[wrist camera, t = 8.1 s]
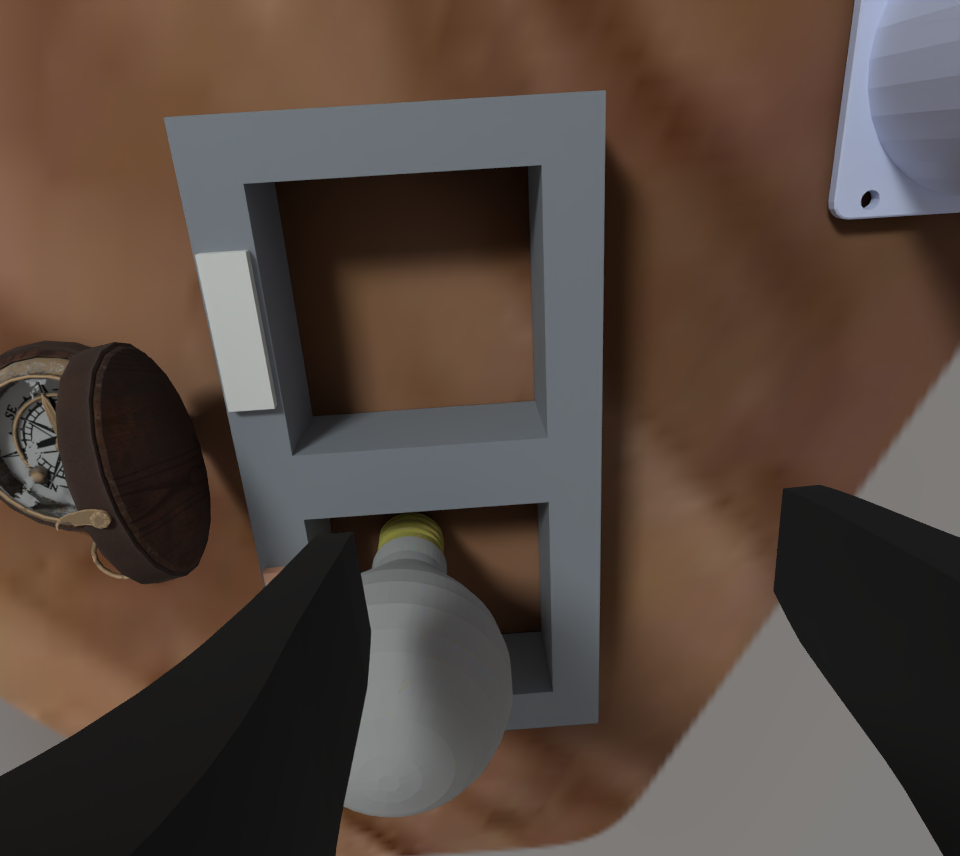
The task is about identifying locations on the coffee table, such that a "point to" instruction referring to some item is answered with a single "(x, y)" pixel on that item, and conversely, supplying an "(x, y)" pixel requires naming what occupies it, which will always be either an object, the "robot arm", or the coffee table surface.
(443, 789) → the light bulb
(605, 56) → the coffee table surface
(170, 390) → the compass
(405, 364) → the coffee table surface
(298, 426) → the socket block
